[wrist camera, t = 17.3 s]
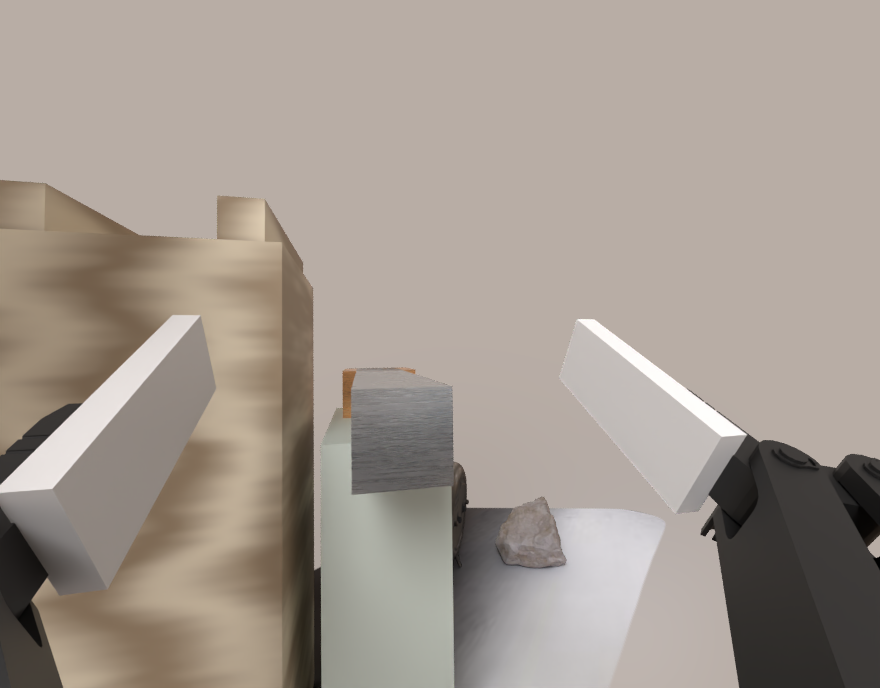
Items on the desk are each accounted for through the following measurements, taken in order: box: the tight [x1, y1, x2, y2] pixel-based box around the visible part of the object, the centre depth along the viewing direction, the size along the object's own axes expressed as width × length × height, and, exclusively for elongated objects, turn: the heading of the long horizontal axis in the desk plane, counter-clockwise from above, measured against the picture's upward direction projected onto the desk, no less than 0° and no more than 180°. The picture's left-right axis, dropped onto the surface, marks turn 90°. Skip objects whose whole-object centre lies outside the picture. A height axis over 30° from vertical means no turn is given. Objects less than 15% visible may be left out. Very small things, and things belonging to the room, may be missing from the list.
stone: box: [495, 497, 567, 568], centre depth 46 cm, size 10×8×6 cm
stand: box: [0, 180, 314, 688], centre depth 22 cm, size 12×12×32 cm
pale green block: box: [321, 408, 454, 688], centre depth 27 cm, size 7×14×20 cm, turn 12°
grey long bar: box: [343, 368, 454, 495], centre depth 24 cm, size 6×22×4 cm, turn 12°
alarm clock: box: [451, 462, 469, 567], centre depth 44 cm, size 11×5×16 cm, turn 166°
